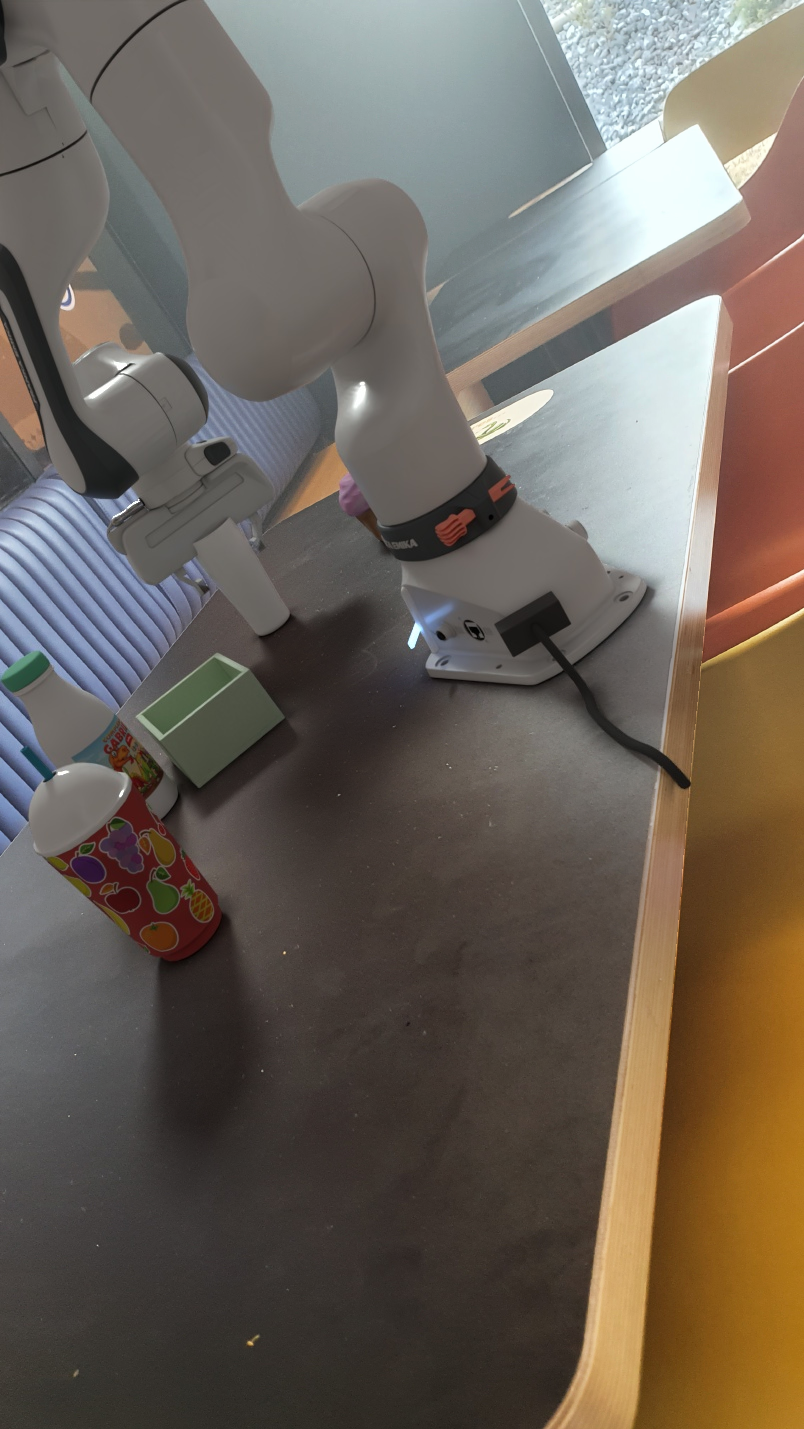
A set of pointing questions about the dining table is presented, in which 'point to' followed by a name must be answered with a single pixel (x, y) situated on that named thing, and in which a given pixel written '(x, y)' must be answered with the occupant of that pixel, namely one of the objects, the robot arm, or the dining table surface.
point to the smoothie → (121, 857)
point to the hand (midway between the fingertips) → (234, 571)
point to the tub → (210, 718)
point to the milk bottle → (84, 729)
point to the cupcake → (357, 505)
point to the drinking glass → (241, 577)
